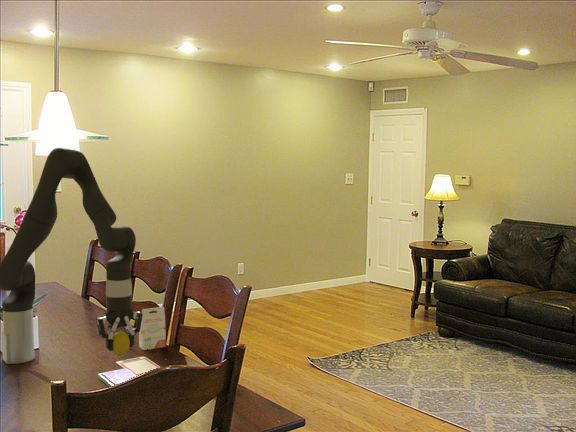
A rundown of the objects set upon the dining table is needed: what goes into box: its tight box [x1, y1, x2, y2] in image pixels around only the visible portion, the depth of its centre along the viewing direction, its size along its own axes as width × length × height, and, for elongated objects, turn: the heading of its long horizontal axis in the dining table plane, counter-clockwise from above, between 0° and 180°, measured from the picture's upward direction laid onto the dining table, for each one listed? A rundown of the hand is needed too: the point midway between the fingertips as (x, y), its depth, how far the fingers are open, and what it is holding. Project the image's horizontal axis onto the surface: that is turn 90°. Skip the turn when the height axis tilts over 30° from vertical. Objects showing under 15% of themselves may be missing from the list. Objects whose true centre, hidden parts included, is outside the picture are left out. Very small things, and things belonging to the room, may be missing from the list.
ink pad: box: [98, 368, 136, 388], centre depth 191 cm, size 9×13×2 cm
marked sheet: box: [115, 356, 161, 376], centre depth 203 cm, size 10×18×1 cm, turn 36°
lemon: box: [112, 330, 130, 358], centre depth 190 cm, size 6×6×8 cm
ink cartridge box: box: [138, 306, 167, 351], centre depth 224 cm, size 9×5×15 cm, turn 117°
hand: (120, 348), depth 190 cm, fingers closed on lemon, 5 cm apart
